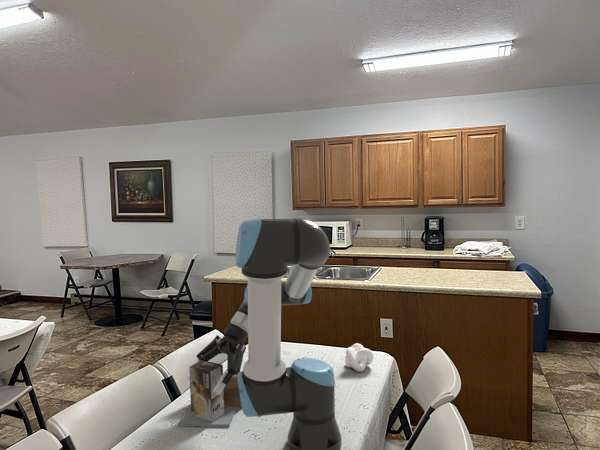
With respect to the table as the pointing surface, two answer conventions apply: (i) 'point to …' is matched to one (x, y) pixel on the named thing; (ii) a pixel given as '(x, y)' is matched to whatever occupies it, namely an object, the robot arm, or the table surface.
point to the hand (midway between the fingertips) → (203, 386)
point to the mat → (194, 421)
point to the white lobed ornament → (358, 357)
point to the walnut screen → (232, 392)
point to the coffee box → (206, 390)
